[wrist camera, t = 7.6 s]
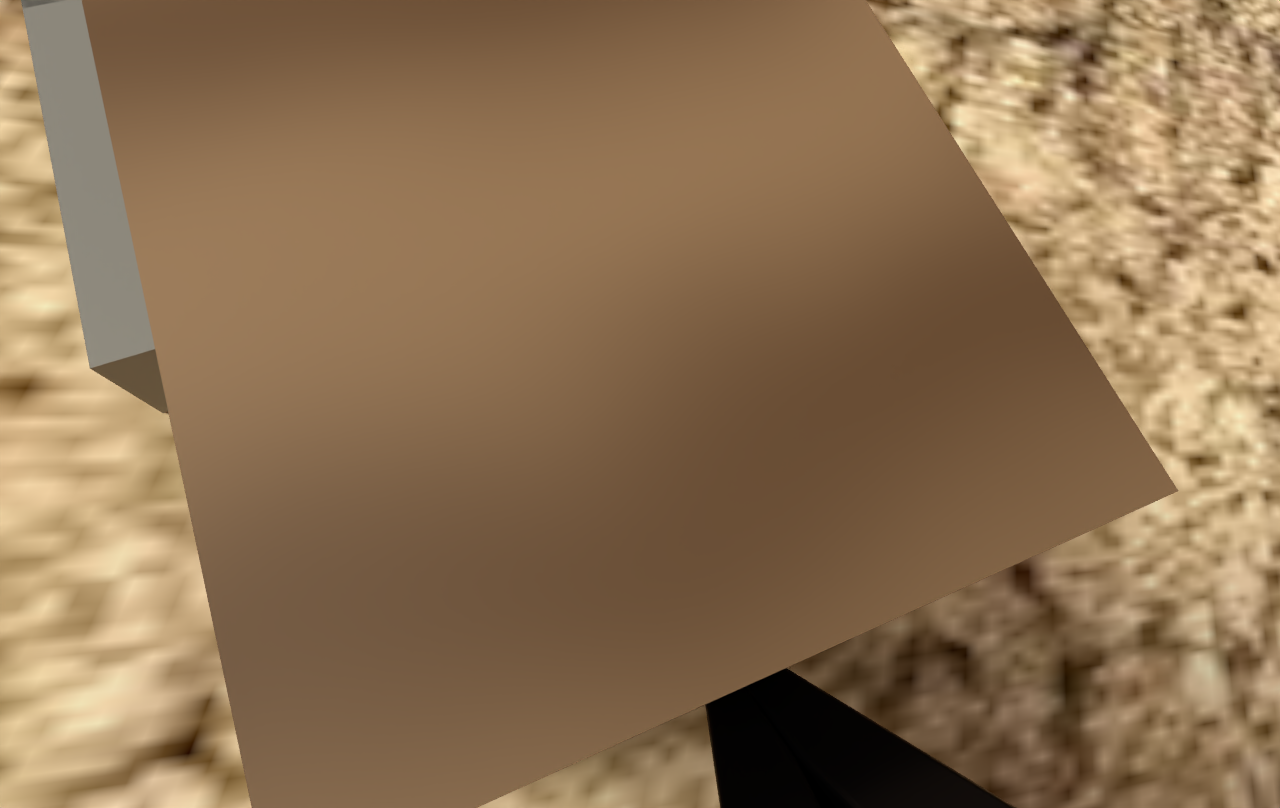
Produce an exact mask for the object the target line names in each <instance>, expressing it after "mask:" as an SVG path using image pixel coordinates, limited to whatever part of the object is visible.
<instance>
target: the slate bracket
mask: <svg viewBox="0 0 1280 808" xmlns="http://www.w3.org/2000/svg"><path fill="white" fill-rule="evenodd" d="M21 2H22V7H23V12H24V18H25V23H26V29H27V34H28V39H29V45H30V50H31V55H32V61H33V66H34V71H35V77H36V82H37V87H38V93H39V98H40V103H41V109H42V114H43V119H44V125H45V130H46V136H47V141H48V146H49V152H50V157H51V162H52V168H53V173H54V178H55V184H56V189H57V194H58V200H59V205H60V210H61V216H62V221H63V227H64V232H65V237H66V243H67V248H68V253H69V259H70V264H71V269H72V275H73V280H74V285H75V291H76V296H77V301H78V307H79V312H80V318H81V323H82V328H83V334H84V339H85V344H86V350H87V355H88V360H89V366H90V369H92V370H94V371H95V372H97V373H98V374H100V375H102V376H103V377H105V378H107V379H108V380H110V381H111V382H113V383H115V384H116V385H118V386H120V387H121V388H123V389H125V390H126V391H128V392H129V393H131V394H133V395H134V396H136V397H138V398H139V399H141V400H143V401H144V402H146V403H147V404H149V405H151V406H152V407H154V408H156V409H157V410H159V411H160V412H162V413H165V412H168V408H167V403H166V398H165V393H164V389H163V384H162V379H161V374H160V370H159V365H158V360H157V355H156V351H155V346H154V341H153V336H152V332H151V327H150V322H149V318H148V313H147V308H146V303H145V299H144V294H143V289H142V284H141V280H140V275H139V270H138V265H137V261H136V256H135V251H134V246H133V242H132V237H131V232H130V227H129V223H128V218H127V213H126V209H125V204H124V199H123V194H122V190H121V185H120V180H119V175H118V171H117V166H116V161H115V156H114V152H113V147H112V142H111V137H110V133H109V128H108V123H107V118H106V114H105V109H104V104H103V100H102V95H101V90H100V85H99V81H98V76H97V71H96V66H95V62H94V57H93V52H92V47H91V43H90V38H89V33H88V28H87V24H86V19H85V14H84V9H83V5H82V0H21Z"/></svg>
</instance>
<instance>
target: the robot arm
mask: <svg viewBox="0 0 1280 808" xmlns="http://www.w3.org/2000/svg"><path fill="white" fill-rule="evenodd" d="M705 706H706V713H707V720H708V727H709V734H710V741H711V747H712V754H713V761H714V768H715V775H716V782H717V789H718V795H719V802H720V808H1016V807H1014V806H1012V805H1011V804H1009V803H1007V802H1006V801H1004V800H1002V799H1001V798H999V797H997V796H996V795H994V794H993V793H991V792H989V791H988V790H986V789H984V788H983V787H981V786H979V785H978V784H976V783H974V782H973V781H971V780H969V779H968V778H966V777H965V776H963V775H961V774H960V773H958V772H956V771H955V770H953V769H951V768H950V767H948V766H946V765H945V764H943V763H942V762H940V761H938V760H937V759H935V758H933V757H932V756H930V755H928V754H927V753H925V752H923V751H922V750H920V749H918V748H917V747H915V746H914V745H912V744H910V743H909V742H907V741H905V740H904V739H902V738H900V737H899V736H897V735H895V734H894V733H892V732H890V731H889V730H887V729H886V728H884V727H882V726H881V725H879V724H877V723H876V722H874V721H872V720H871V719H869V718H867V717H866V716H864V715H863V714H861V713H859V712H858V711H856V710H854V709H853V708H851V707H849V706H848V705H846V704H844V703H843V702H841V701H839V700H838V699H836V698H835V697H833V696H831V695H830V694H828V693H826V692H825V691H823V690H821V689H820V688H818V687H816V686H815V685H813V684H811V683H810V682H808V681H807V680H805V679H803V678H802V677H800V676H798V675H797V674H795V673H793V672H792V671H790V670H788V669H787V668H785V669H783V670H780V671H778V672H776V673H774V674H772V675H769V676H767V677H765V678H763V679H760V680H758V681H756V682H754V683H752V684H749V685H747V686H745V687H743V688H741V689H738V690H736V691H734V692H732V693H729V694H727V695H725V696H723V697H721V698H718V699H716V700H714V701H712V702H710V703H707V704H705Z"/></svg>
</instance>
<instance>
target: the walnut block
mask: <svg viewBox="0 0 1280 808" xmlns="http://www.w3.org/2000/svg"><path fill="white" fill-rule="evenodd" d="M82 5H83V9H84V14H85V19H86V24H87V28H88V33H89V38H90V43H91V47H92V52H93V57H94V62H95V66H96V71H97V76H98V81H99V85H100V90H101V95H102V100H103V104H104V109H105V114H106V118H107V123H108V128H109V133H110V137H111V142H112V147H113V152H114V156H115V161H116V166H117V171H118V175H119V180H120V185H121V190H122V194H123V199H124V204H125V209H126V213H127V218H128V223H129V227H130V232H131V237H132V242H133V246H134V251H135V256H136V261H137V265H138V270H139V275H140V280H141V284H142V289H143V294H144V299H145V303H146V308H147V313H148V318H149V322H150V327H151V332H152V336H153V341H154V346H155V351H156V355H157V360H158V365H159V370H160V374H161V379H162V384H163V389H164V393H165V398H166V403H167V408H168V412H169V417H170V422H171V427H172V431H173V436H174V441H175V445H176V450H177V455H178V460H179V464H180V469H181V474H182V479H183V483H184V488H185V493H186V498H187V502H188V507H189V512H190V517H191V521H192V526H193V531H194V536H195V540H196V545H197V550H198V554H199V559H200V564H201V569H202V573H203V578H204V583H205V588H206V592H207V597H208V602H209V607H210V611H211V616H212V621H213V626H214V630H215V635H216V640H217V645H218V649H219V654H220V659H221V663H222V668H223V673H224V678H225V682H226V687H227V692H228V697H229V701H230V706H231V711H232V716H233V720H234V725H235V730H236V735H237V739H238V744H239V749H240V754H241V758H242V763H243V768H244V773H245V777H246V782H247V787H248V791H249V796H250V801H251V806H252V808H477V807H479V806H481V805H483V804H486V803H488V802H490V801H492V800H495V799H497V798H499V797H501V796H503V795H506V794H508V793H510V792H512V791H514V790H517V789H519V788H521V787H523V786H526V785H528V784H530V783H532V782H534V781H537V780H539V779H541V778H543V777H546V776H548V775H550V774H552V773H554V772H557V771H559V770H561V769H563V768H565V767H568V766H570V765H572V764H574V763H577V762H579V761H581V760H583V759H585V758H588V757H590V756H592V755H594V754H596V753H599V752H601V751H603V750H605V749H608V748H610V747H612V746H614V745H616V744H619V743H621V742H623V741H625V740H628V739H630V738H632V737H634V736H636V735H639V734H641V733H643V732H645V731H647V730H650V729H652V728H654V727H656V726H659V725H661V724H663V723H665V722H667V721H670V720H672V719H674V718H676V717H678V716H681V715H683V714H685V713H687V712H690V711H692V710H694V709H696V708H698V707H701V706H703V705H705V704H707V703H710V702H712V701H714V700H716V699H718V698H721V697H723V696H725V695H727V694H729V693H732V692H734V691H736V690H738V689H741V688H743V687H745V686H747V685H749V684H752V683H754V682H756V681H758V680H760V679H763V678H765V677H767V676H769V675H772V674H774V673H776V672H778V671H780V670H783V669H785V668H787V667H789V666H792V665H794V664H796V663H798V662H800V661H803V660H805V659H807V658H809V657H811V656H814V655H816V654H818V653H820V652H823V651H825V650H827V649H829V648H831V647H834V646H836V645H838V644H840V643H843V642H845V641H847V640H849V639H851V638H854V637H856V636H858V635H860V634H862V633H865V632H867V631H869V630H871V629H874V628H876V627H878V626H880V625H882V624H885V623H887V622H889V621H891V620H893V619H896V618H898V617H900V616H902V615H905V614H907V613H909V612H911V611H913V610H916V609H918V608H920V607H922V606H925V605H927V604H929V603H931V602H933V601H936V600H938V599H940V598H942V597H944V596H947V595H949V594H951V593H953V592H956V591H958V590H960V589H962V588H964V587H967V586H969V585H971V584H973V583H975V582H978V581H980V580H982V579H984V578H987V577H989V576H991V575H993V574H995V573H998V572H1000V571H1002V570H1004V569H1007V568H1009V567H1011V566H1013V565H1015V564H1018V563H1020V562H1022V561H1024V560H1026V559H1029V558H1031V557H1033V556H1035V555H1038V554H1040V553H1042V552H1044V551H1046V550H1049V549H1051V548H1053V547H1055V546H1057V545H1060V544H1062V543H1064V542H1066V541H1069V540H1071V539H1073V538H1075V537H1077V536H1080V535H1082V534H1084V533H1086V532H1089V531H1091V530H1093V529H1095V528H1097V527H1100V526H1102V525H1104V524H1106V523H1108V522H1111V521H1113V520H1115V519H1117V518H1120V517H1122V516H1124V515H1126V514H1128V513H1131V512H1133V511H1135V510H1137V509H1139V508H1142V507H1144V506H1146V505H1148V504H1151V503H1153V502H1155V501H1157V500H1159V499H1162V498H1164V497H1166V496H1168V495H1171V494H1173V493H1175V492H1177V491H1178V490H1177V488H1176V487H1175V485H1174V483H1173V482H1172V480H1171V479H1170V477H1169V476H1168V474H1167V472H1166V471H1165V469H1164V468H1163V466H1162V465H1161V463H1160V461H1159V460H1158V458H1157V457H1156V455H1155V454H1154V452H1153V451H1152V449H1151V447H1150V446H1149V444H1148V443H1147V441H1146V440H1145V438H1144V436H1143V435H1142V433H1141V432H1140V430H1139V429H1138V427H1137V425H1136V424H1135V422H1134V421H1133V419H1132V418H1131V416H1130V414H1129V413H1128V411H1127V410H1126V408H1125V407H1124V405H1123V403H1122V402H1121V400H1120V399H1119V397H1118V396H1117V394H1116V392H1115V391H1114V389H1113V388H1112V386H1111V385H1110V383H1109V381H1108V380H1107V378H1106V377H1105V375H1104V374H1103V372H1102V370H1101V369H1100V367H1099V366H1098V364H1097V363H1096V361H1095V359H1094V358H1093V356H1092V355H1091V353H1090V352H1089V350H1088V348H1087V347H1086V345H1085V344H1084V342H1083V341H1082V339H1081V337H1080V336H1079V334H1078V333H1077V331H1076V330H1075V328H1074V326H1073V325H1072V323H1071V322H1070V320H1069V319H1068V317H1067V315H1066V314H1065V312H1064V311H1063V309H1062V308H1061V306H1060V305H1059V303H1058V301H1057V300H1056V298H1055V297H1054V295H1053V294H1052V292H1051V290H1050V289H1049V287H1048V286H1047V284H1046V283H1045V281H1044V279H1043V278H1042V276H1041V275H1040V273H1039V272H1038V270H1037V268H1036V267H1035V265H1034V264H1033V262H1032V261H1031V259H1030V257H1029V256H1028V254H1027V253H1026V251H1025V250H1024V248H1023V246H1022V245H1021V243H1020V242H1019V240H1018V239H1017V237H1016V235H1015V234H1014V232H1013V231H1012V229H1011V228H1010V226H1009V224H1008V223H1007V221H1006V220H1005V218H1004V217H1003V215H1002V213H1001V212H1000V210H999V209H998V207H997V206H996V204H995V202H994V201H993V199H992V198H991V196H990V195H989V193H988V191H987V190H986V188H985V187H984V185H983V184H982V182H981V180H980V179H979V177H978V176H977V174H976V173H975V171H974V169H973V168H972V166H971V165H970V163H969V162H968V160H967V159H966V157H965V155H964V154H963V152H962V151H961V149H960V148H959V146H958V144H957V143H956V141H955V140H954V138H953V137H952V135H951V133H950V132H949V130H948V129H947V127H946V126H945V124H944V122H943V121H942V119H941V118H940V116H939V115H938V113H937V111H936V110H935V108H934V107H933V105H932V104H931V102H930V100H929V99H928V97H927V96H926V94H925V93H924V91H923V89H922V88H921V86H920V85H919V83H918V82H917V80H916V78H915V77H914V75H913V74H912V72H911V71H910V69H909V67H908V66H907V64H906V63H905V61H904V60H903V58H902V56H901V55H900V53H899V52H898V50H897V49H896V47H895V45H894V44H893V42H892V41H891V39H890V38H889V36H888V34H887V33H886V31H885V30H884V28H883V27H882V25H881V23H880V22H879V20H878V19H877V17H876V16H875V14H874V13H873V11H872V9H871V8H870V6H869V5H868V3H867V2H866V0H82Z"/></svg>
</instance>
